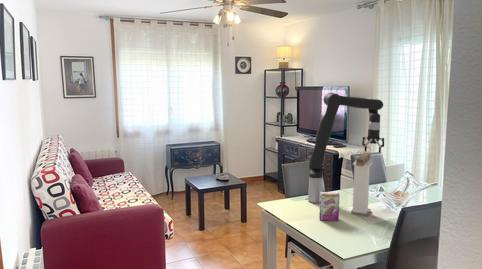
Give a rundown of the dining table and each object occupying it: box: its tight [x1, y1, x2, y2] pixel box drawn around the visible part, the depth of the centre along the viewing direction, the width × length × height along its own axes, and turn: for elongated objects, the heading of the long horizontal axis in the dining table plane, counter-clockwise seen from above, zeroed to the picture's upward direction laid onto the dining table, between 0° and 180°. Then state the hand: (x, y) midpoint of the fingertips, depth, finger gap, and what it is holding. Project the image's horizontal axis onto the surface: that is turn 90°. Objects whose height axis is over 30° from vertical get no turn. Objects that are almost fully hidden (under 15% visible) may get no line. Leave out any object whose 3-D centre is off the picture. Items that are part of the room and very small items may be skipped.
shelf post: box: [350, 160, 374, 217], centre depth 226 cm, size 10×10×32 cm
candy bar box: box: [318, 191, 341, 222], centre depth 216 cm, size 11×5×16 cm, turn 84°
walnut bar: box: [355, 151, 371, 166], centre depth 225 cm, size 24×4×4 cm, turn 151°
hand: (372, 152), depth 249 cm, fingers open, 8 cm apart
